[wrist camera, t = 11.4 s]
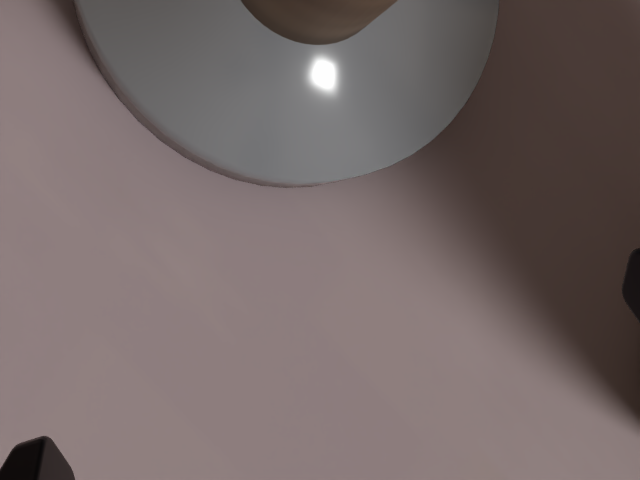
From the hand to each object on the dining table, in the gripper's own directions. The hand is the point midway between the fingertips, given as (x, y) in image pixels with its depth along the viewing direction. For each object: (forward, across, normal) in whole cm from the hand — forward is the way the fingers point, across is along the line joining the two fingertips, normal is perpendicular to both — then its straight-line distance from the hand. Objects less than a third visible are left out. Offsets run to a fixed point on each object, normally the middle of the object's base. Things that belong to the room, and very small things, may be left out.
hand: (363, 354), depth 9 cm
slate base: (+14, -3, -1) cm, 15 cm away
